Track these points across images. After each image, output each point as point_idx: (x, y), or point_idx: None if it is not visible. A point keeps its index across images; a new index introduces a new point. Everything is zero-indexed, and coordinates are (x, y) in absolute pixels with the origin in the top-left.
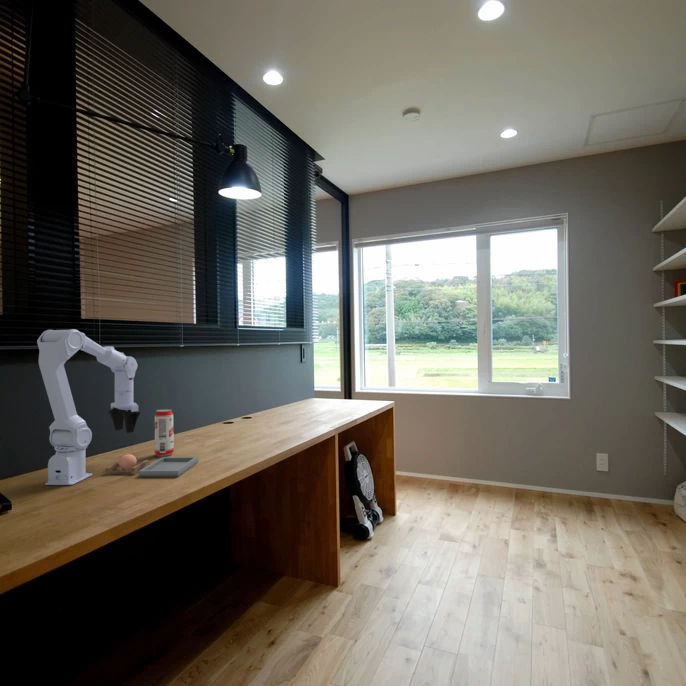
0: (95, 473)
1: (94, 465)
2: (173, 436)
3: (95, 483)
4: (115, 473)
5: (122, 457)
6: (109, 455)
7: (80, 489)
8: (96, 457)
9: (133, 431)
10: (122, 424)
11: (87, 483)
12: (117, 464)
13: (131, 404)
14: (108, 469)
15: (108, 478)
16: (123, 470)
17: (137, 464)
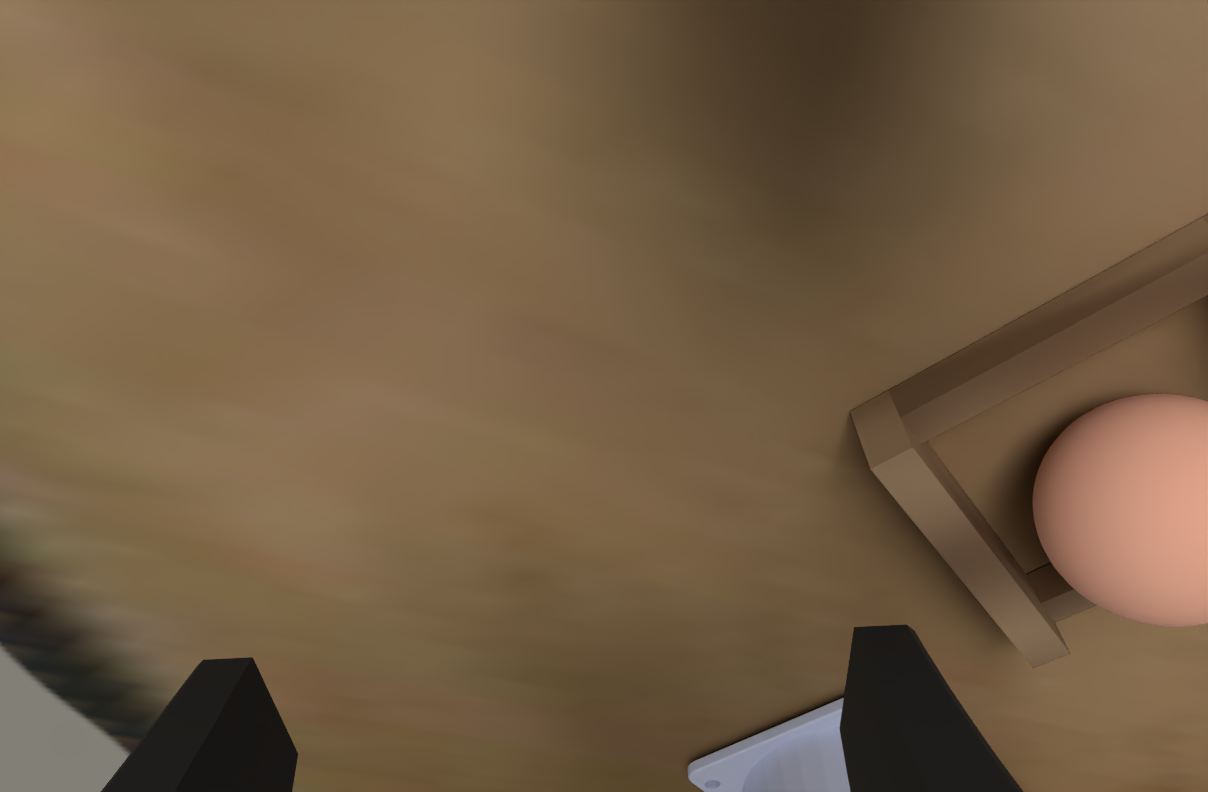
0: None
1: (500, 560)
2: None
3: (1165, 712)
4: None
5: (1174, 625)
6: (4, 285)
7: (1182, 789)
8: (37, 432)
9: (911, 633)
10: (184, 784)
11: (1093, 738)
12: (991, 546)
13: None
14: (1062, 641)
15: (1153, 626)
16: None
17: (1125, 331)
